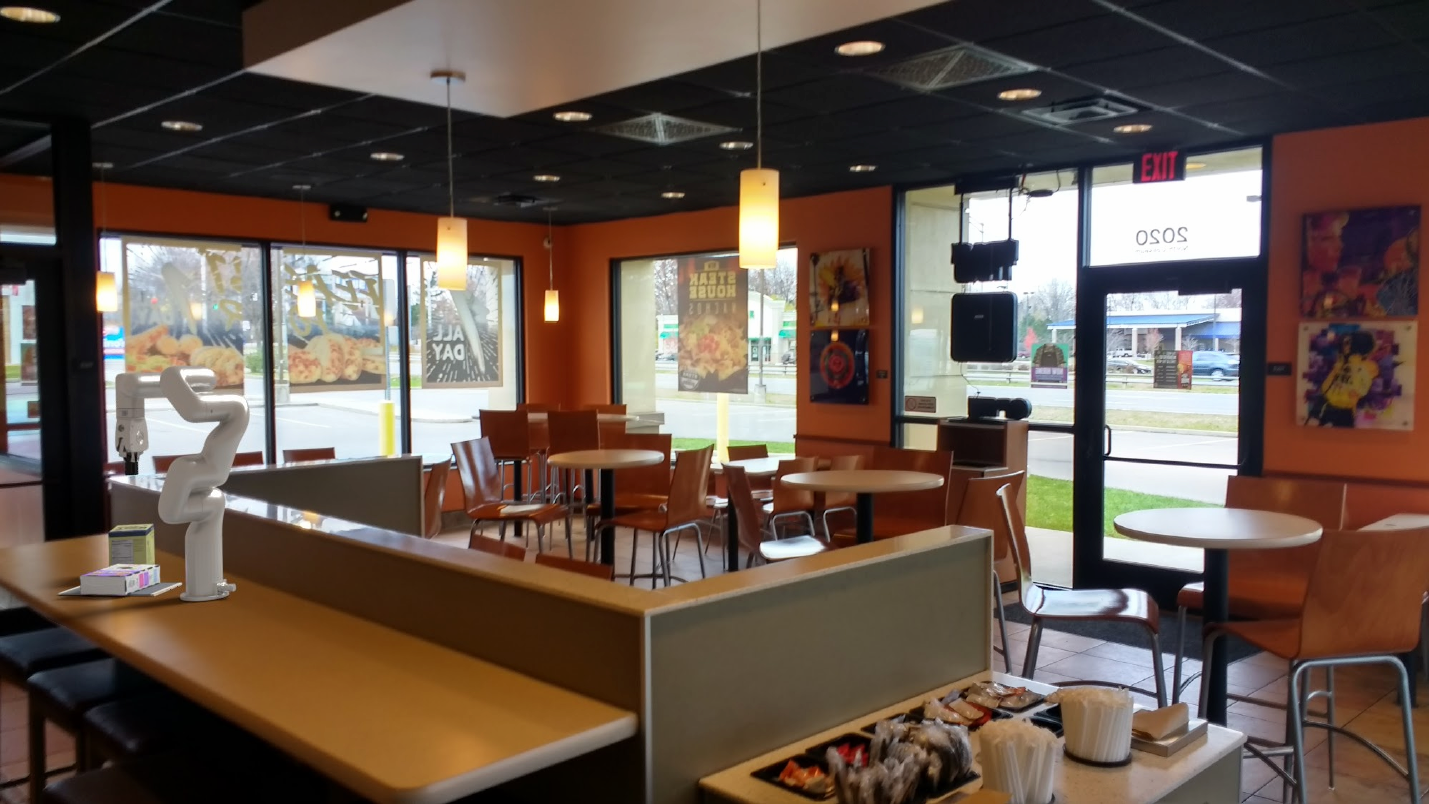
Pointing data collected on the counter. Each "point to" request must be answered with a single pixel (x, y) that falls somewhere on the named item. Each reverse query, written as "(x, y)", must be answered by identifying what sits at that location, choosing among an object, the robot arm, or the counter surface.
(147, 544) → the protein box
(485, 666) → the counter surface
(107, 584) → the candy box
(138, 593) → the gray flat board
